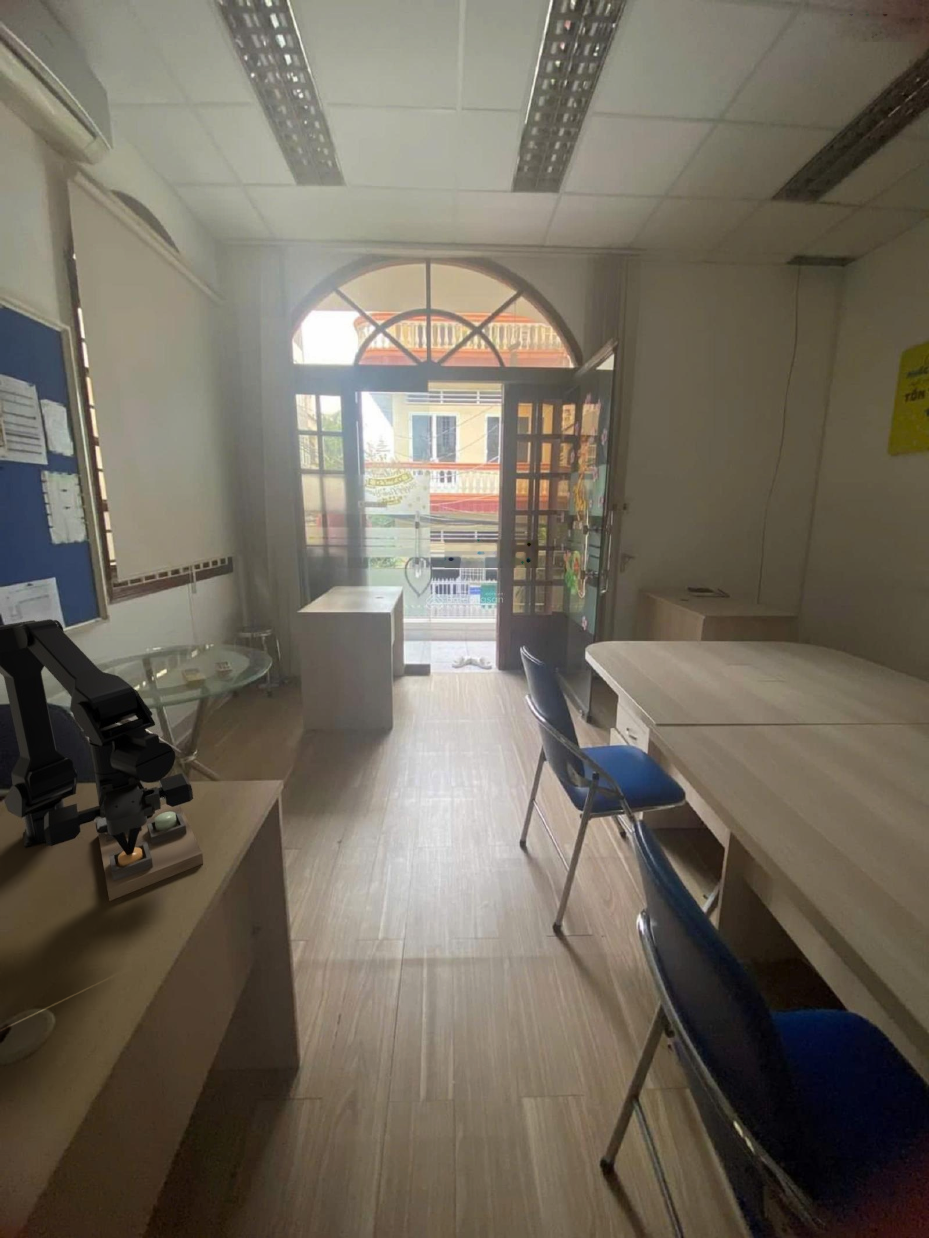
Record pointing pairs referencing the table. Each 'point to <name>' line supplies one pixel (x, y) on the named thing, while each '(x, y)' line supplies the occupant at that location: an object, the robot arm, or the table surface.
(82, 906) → the table surface
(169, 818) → the sage button
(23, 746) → the robot arm
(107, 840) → the console
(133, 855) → the orange button
